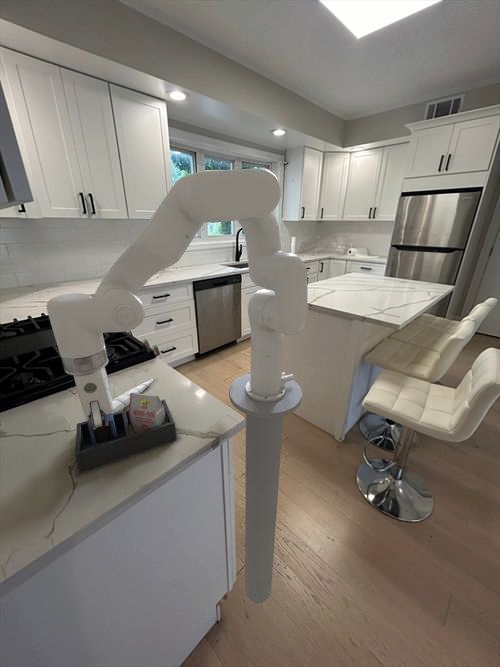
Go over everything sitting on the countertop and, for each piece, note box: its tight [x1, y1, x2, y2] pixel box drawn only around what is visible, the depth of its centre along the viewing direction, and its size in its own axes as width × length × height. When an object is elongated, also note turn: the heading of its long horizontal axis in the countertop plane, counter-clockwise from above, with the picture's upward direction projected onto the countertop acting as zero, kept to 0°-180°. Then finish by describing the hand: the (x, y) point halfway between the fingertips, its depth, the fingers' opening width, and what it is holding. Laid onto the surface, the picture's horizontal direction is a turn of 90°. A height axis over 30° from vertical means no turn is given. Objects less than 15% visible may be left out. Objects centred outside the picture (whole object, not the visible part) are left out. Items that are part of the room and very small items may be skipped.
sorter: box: [74, 399, 178, 473], centre depth 63 cm, size 19×10×5 cm, turn 119°
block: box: [88, 410, 116, 444], centre depth 59 cm, size 4×4×4 cm
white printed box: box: [128, 392, 166, 433], centre depth 64 cm, size 4×7×10 cm, turn 79°
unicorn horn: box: [84, 378, 154, 422], centre depth 75 cm, size 5×24×5 cm, turn 160°
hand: (104, 431), depth 60 cm, fingers closed on block, 4 cm apart
